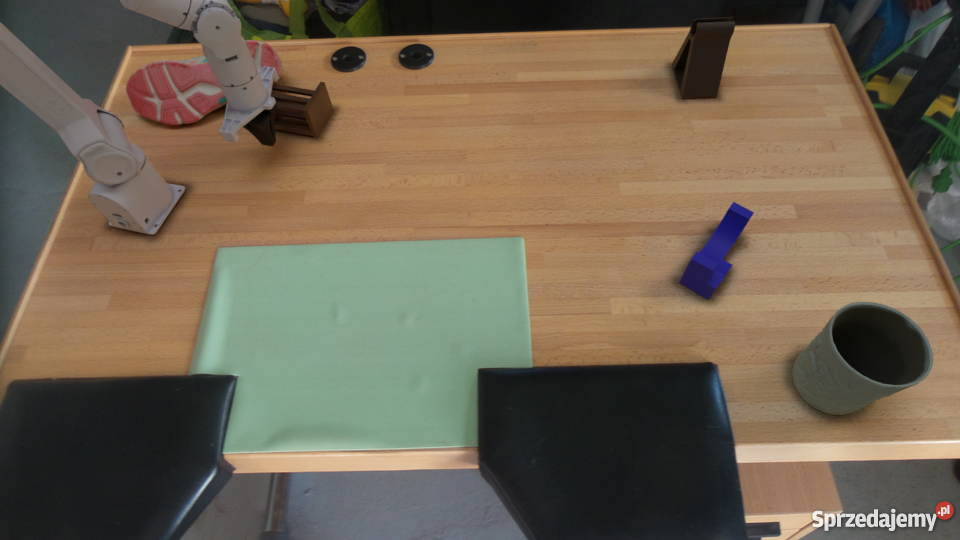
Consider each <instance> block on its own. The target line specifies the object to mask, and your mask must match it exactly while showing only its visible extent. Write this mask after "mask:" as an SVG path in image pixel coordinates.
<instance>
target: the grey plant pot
mask: <svg viewBox="0 0 960 540" xmlns="http://www.w3.org/2000/svg"><path fill="white" fill-rule="evenodd" d="M933 366H934V354H933V348H932V346H931V343H930V341H929V338H928V337H927V335H926V334H925V332H924V331H923V329H922V328H921V327H920V326H919V325H918V324H917V323H916V322H915V321H914V320H912V318H910V316H908V315H906V313H903V312H902V311H900V310H898V309H896V308H894V307H892V306H889V305H887V304H883V303H880V302H874V301H855V302H850V303H848V304H846V305H843V306H842V307H840V308H839V309H838V310H836V312H834V314H833V315H831V317H830V319H829V320H828V321H827V323H826V324H825V326H824V327H823V328H822V330H821V331H819V333H817V334H816V336H814V338H813V339H812V340H811V341H810V342H809V344H808V345H807V346H806V347H805V348H804V349H803V351H801V352H800V354H798V356H797V357H796V359H795V360H794V363H793V365H792V368H791V369H792V370H791V375H792V376H791V379H792V381H793V385H794V387H795V390H796V392H797V393H798V394H799V396H800V398H802V399H803V400H804V401H805V402H806V403H807V404H808V405H810V407H812V408H814V409H815V410H818V411H820V412H822V413H825V414H828V415H833V416H845V415H849V414H852V413H854V412H857V411H859V410H861V409H864V408H865V407H867V406H868V405H870V404H872V403H874V402H876V401H877V400H880V399H882V398H887V397H891V396H892V395H894V394H896V393H899V392H901V391H904V390H906V389H909V388H911V387H913V386H917V385H919V384H920V383H921V382H923V381H924V380H925V379H926V378H927V377H928V376H929V375H930V373H931V371H932V369H933Z"/></svg>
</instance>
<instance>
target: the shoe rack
mask: <svg viewBox="0 0 960 540" xmlns="http://www.w3.org/2000/svg"><path fill="white" fill-rule="evenodd" d="M285 93H286V94H285ZM291 94H293V95H291ZM297 95H299V96H297ZM271 97H274V98H275V100H276V105H277V107H276V111H275V118H277V116H278V117H282V118H288V119H294V120H299V121H304V122H307V124H308V126H304V125H300V124H299V125H298V124H293V123H289V122H282V121H277V120H275V131H276V130H278V131H281V132H282V131H283V132H289V133H294V134H299V135H305V136H310V137H313V138H314V139H318V138H319V136H320V135H321V133H322V131H323V129H324V128H325V125H326V124H327V122H328V120H329V119H330V116H331V115H332V114H333V111H334V107H333V104H332V101H331V98H330V95H329V91H328V87H327V86H326V82H325V81H320V82H319V83H318V84H317V86H316V88H315V89H309V88H304V87H303V88H302V87H295V86H290V85H284V84H279V83H278V82H277V81H276V82H273V85H272V92H271ZM309 97H310V98H309Z"/></svg>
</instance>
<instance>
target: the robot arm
mask: <svg viewBox="0 0 960 540" xmlns="http://www.w3.org/2000/svg"><path fill="white" fill-rule="evenodd" d="M118 1H119V2H120V4H121V5H122V6H123V7H124V8H125V9H127V10H130V11H132V12H135V13H138V14H141V15H143V16H146V17H149V18H152V19H155V20H156V21H160V22H162V23H165V24H167V25H170V26H173V27H175V28H178V29H181V30H187V31H190V32H192V33H193V37H194V38H195V40H196V41H197V42H198V43H199V44H200V45H201V47H202V53H203V56H205V57H206V59H207V61H208V63H209V65H210V67H211V69H212V71H213V73H214V75H215V77H216V79H217V81H218V83H219V85H220V87H221V89H222V91H223V93H224V95H225V97H226V99H227V104H226V105H225V106H226V107H225V111H224V116H223V121H222V125H221V127H220V128H219V130H218V132H219V134H220V135H221V137H222V139H223V141H226V142H231V143H238V142H239V139H240V136H239V135H238V134H239V133H240V132H241V129H242V128H244V129H245V130H246V131H248V132H249V133H250V134H251V135H252V136H253V137H254V138H255V139H256V140H257V141H258V142H259V144H261V145H262V146H268V147H274V146H275V144H276V142H277V135H276V133H277V132H276V129H275V121H276V117H275V111H276V107H277V105H276V100H275V98H274V97H271V92H272V85H273V82H276V81H277V80H278V79H279V77H278V74H277V72H276V69H275V68H272V67H265V66H264V67H263V68H262V69H261V70H260V71H259V72H258V70H257V67H256V65H255V63H254V60H253V58H252V56H251V53H250V51H249V49H248V46H247V44H246V41H247V40H245V38H244V37H243V36H242V22H241V19H240V18H239V17H238V16H237V14H236V12H235V11H234V9H233V8H232V6H231V4H230V3H229V2H228V0H118ZM0 86H1V87H2V88H3V89H5V90H6V91H7V92H8V93H9V94H11V95H12V96H13V97H15V98H16V99H17V100H18V101H19V102H21V103H22V105H24V106H25V107H27V108H28V109H29V110H30V111H31V112H32V113H34V114H35V115H36V116H38V118H40V119H41V120H42V121H43V122H44V123H46V124H47V125H48V126H49V127H51V129H53V130H54V131H55V132H56V133H57V135H59V137H60V139H61V140H62V142H63V144H64V145H65V146H66V147H67V149H68V150H69V152H70V153H71V155H73V157H75V158H76V159H77V160H78V161H79V162H80V163H81V164H82V167H83V170H84V172H85V174H86V176H88V178H89V179H90V180H92V181H93V184H92V187H91V190H90V192H89V194H88V197H87V198H88V200H89V202H90V203H91V204H92V205H93V206H94V207H95V208H96V210H97V211H98V212H99V213H101V215H102V216H103V217H104V218H105V219H106V220H107V221H108V223H107V224H108V225H109V226H110V227H113V228H118V229H122V230H127V231H131V232H136V233H141V234H145V235H150V236H154V235H156V234H157V233H158V231H159V229H160V228H162V227H161V226H162V225H163V224H164V222H165V220H166V219H167V218H168V216H169V215H170V213H171V212H172V211H173V209H174V207H176V204H177V203H178V202H179V200H180V199H181V198H182V196H183V194H184V193H185V192H186V187H185V186H184V185H178V184H174V183H168V182H167V181H166V180H165V178H164V177H163V176H162V175H161V173H160V172H159V171H158V170H157V168H156V166H155V165H154V164H153V163H152V161H151V159H149V158H148V156H147V155H146V153H145V152H144V151H143V149H142V148H141V147H140V146H138V145H137V144H135V143H133V142H131V141H130V140H129V138H128V136H127V133H126V130H125V125H124V123H123V120H122V119H121V118H120V116H118V115H117V114H116V113H114V112H112V111H110V110H107V109H104V108H102V107H101V106H98V105H97V104H96V103H95V102H93V100H92V99H90V98H82V97H81V96H80V95H79V94H78V93H77V92H76V91H75V90H74V89H72V88H71V86H69V85H68V84H67V83H66V82H65V81H64V80H63V79H62V78H61V77H60V76H59V75H58V74H57V73H56V72H55V71H53V70H52V69H51V68H50V66H48V65H47V63H45V62H44V61H43V60H41V59H40V58H39V57H38V56H37V55H36V54H35V53H34V52H33V51H32V50H31V49H29V47H27V45H26V44H25V43H23V42H22V41H21V40H20V39H19V38H18V37H17V36H16V35H15V34H13V32H12V31H11V30H10V29H8V28H7V27H6V26H5V24H3V22H1V21H0Z"/></svg>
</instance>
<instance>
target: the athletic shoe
mask: <svg viewBox="0 0 960 540" xmlns="http://www.w3.org/2000/svg"><path fill="white" fill-rule="evenodd" d="M245 41H246V44H247V46H248V49H249V51H250V53H251V56H252V58H253V60H254V63H255V65H256V67H257V70H258V72H259V71H260V70H261V69H262V68H263V67H264V66H265V67H272V68H275V69H276V72H277V74H278V77H279V79H278V80H277V83H278V82H279V81H280V80H281V78H282V75H283V74H282V73H283V63H282V60H281V58H280V55H279V54H278V52H277V50H276V49H275V48H274V47H273V46H272V45H271V44H270V43H268V42H264V41H258V40H256V39H247V40H245ZM125 89H126V90H125V92H126V94H127V97H128V100H129V103H130V106H131V108H132V109H133V111H134V112H135V113H137V114H139V115H140V116H142V117H143V118H145V119H147V120H148V119H149V120H151V121H153V122H158V123H162V124H164V125H170V126H179V125H182V124H184V125H185V124H186V125H190V124H193V123H196V122H198V121H200V120H202V119H203V118H204V117H205V116H207V115H209V114H210V113H211V112H213V111H215V110H217V109H220V108H222V107H224V106H227V99H226V97H225V95H224V93H223V91H222V89H221V87H220V85H219V83H218V81H217V79H216V77H215V75H214V73H213V71H212V69H211V67H210V65H209V63H208V61H207V59H206V57H205V55H201V56H196V57H190V58H187V59H180V60H174V59H173V60H172V59H165V60H163V59H162V60H156V61H155V60H154V61H152V62H149V63H148V64H145V65H143V66H141V67H139V68H137V69H136V70H135V71H134V72H132V73H131V74H130V76H129V77H128V80H127V82H126V85H125Z"/></svg>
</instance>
